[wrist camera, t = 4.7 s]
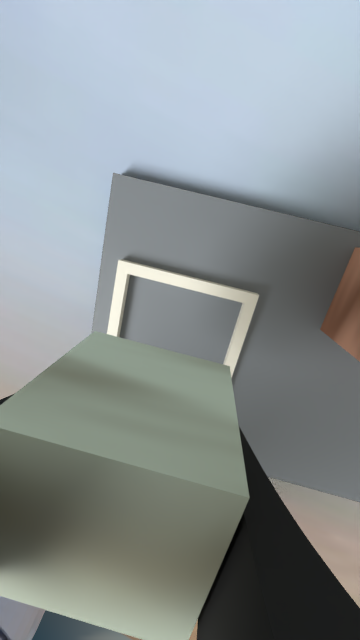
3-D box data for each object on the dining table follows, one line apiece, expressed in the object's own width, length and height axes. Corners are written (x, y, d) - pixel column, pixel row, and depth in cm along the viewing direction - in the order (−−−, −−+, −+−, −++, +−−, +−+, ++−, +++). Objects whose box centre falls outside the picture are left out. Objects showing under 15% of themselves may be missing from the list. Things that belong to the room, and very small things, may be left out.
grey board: (357, 492, 18) (369, 512, 17) (84, 417, 19) (74, 430, 18) (493, 266, 13) (525, 268, 12) (118, 176, 14) (108, 169, 13)
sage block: (195, 471, 10) (183, 651, 5) (79, 439, 10) (-20, 590, 6) (229, 365, 8) (249, 497, 4) (94, 331, 9) (-21, 422, 4)
